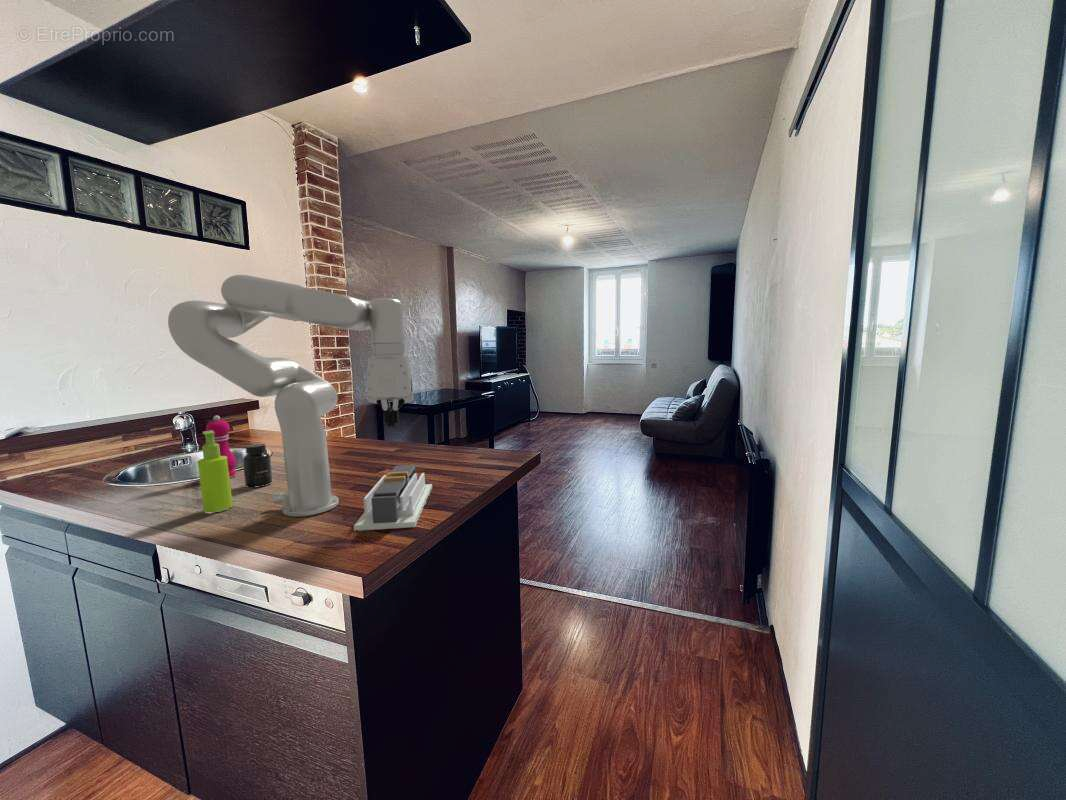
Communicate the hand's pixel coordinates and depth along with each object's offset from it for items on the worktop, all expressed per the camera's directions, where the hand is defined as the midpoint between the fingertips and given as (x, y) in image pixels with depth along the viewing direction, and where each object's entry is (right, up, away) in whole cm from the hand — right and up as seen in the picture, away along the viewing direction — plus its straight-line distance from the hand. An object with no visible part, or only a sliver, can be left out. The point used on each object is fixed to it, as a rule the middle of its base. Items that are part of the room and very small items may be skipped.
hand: (392, 425), depth 105 cm
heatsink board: (+1, -20, +1) cm, 20 cm away
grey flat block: (+1, -15, -6) cm, 16 cm away
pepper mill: (-64, -19, +30) cm, 73 cm away
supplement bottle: (-47, -19, +22) cm, 55 cm away
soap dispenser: (-45, -22, +3) cm, 50 cm away
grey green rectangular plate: (0, -13, +6) cm, 14 cm away
